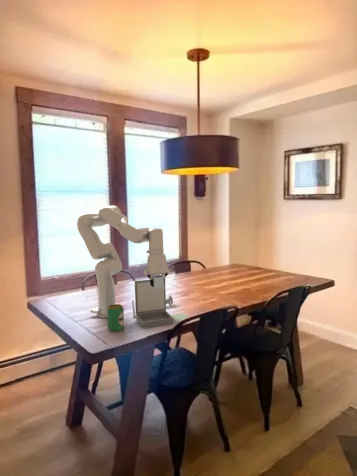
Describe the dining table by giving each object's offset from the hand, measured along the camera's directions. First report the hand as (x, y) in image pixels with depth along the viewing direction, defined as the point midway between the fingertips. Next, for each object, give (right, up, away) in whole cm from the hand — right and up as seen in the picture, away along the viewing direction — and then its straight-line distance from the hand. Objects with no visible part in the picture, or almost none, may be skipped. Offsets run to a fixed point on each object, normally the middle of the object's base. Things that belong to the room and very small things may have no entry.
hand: (157, 285), depth 191 cm
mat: (+12, -19, +7) cm, 23 cm away
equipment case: (-3, -20, +2) cm, 20 cm away
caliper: (+1, -18, +26) cm, 31 cm away
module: (0, -1, 0) cm, 1 cm away
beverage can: (-20, -21, -8) cm, 31 cm away
